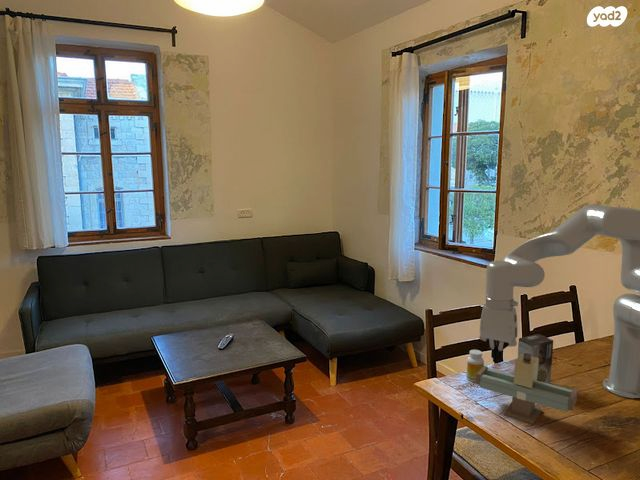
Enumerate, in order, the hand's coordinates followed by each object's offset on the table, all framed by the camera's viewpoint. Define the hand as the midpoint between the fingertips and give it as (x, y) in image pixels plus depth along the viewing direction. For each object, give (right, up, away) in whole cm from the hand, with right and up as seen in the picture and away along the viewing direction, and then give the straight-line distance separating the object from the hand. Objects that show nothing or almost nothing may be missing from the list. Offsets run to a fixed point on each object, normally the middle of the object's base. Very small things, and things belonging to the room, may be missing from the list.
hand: (497, 360), depth 145 cm
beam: (+7, -15, -3) cm, 16 cm away
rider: (+7, -7, -4) cm, 10 cm away
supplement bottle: (-1, -11, +19) cm, 22 cm away
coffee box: (+17, -12, +14) cm, 25 cm away
